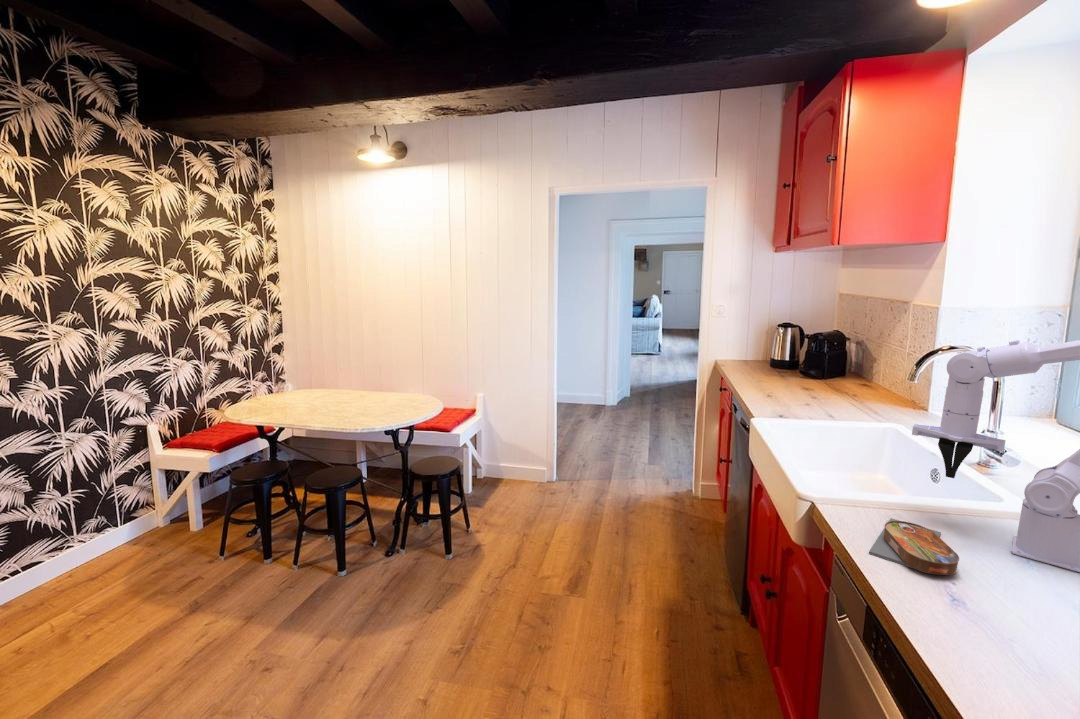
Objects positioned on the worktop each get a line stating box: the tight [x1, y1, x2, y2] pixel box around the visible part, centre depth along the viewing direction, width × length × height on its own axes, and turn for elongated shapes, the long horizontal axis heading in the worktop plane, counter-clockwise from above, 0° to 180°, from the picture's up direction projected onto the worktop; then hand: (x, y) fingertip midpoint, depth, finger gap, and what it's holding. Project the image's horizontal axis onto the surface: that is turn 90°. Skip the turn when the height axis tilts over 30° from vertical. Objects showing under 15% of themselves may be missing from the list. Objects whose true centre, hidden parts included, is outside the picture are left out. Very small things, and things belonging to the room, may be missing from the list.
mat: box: [868, 517, 942, 569], centre depth 102 cm, size 8×18×1 cm, turn 136°
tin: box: [884, 520, 960, 576], centre depth 97 cm, size 15×3×8 cm
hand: (950, 476), depth 108 cm, fingers closed
